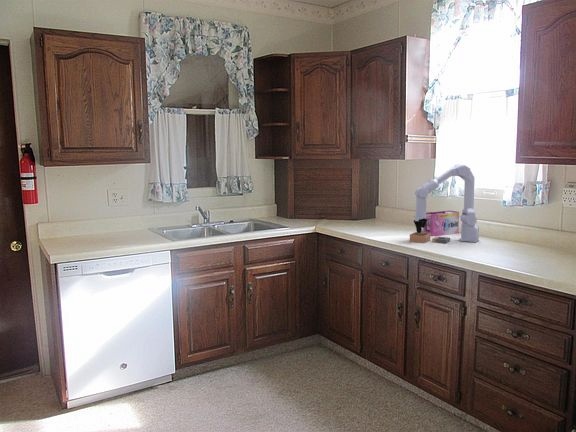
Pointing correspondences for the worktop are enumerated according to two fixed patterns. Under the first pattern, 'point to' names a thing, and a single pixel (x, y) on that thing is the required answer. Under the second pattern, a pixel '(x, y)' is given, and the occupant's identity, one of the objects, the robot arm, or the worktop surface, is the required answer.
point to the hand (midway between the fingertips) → (420, 232)
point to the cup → (420, 237)
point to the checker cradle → (441, 239)
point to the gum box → (442, 223)
